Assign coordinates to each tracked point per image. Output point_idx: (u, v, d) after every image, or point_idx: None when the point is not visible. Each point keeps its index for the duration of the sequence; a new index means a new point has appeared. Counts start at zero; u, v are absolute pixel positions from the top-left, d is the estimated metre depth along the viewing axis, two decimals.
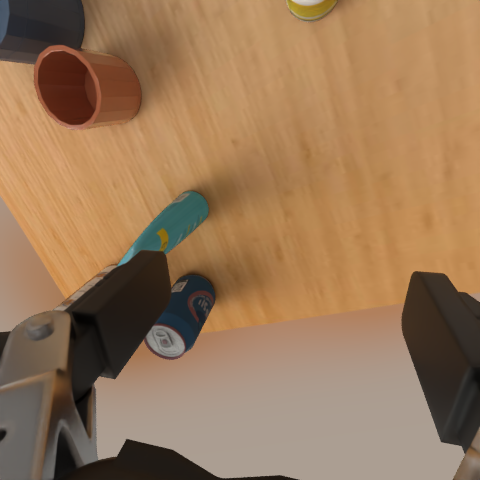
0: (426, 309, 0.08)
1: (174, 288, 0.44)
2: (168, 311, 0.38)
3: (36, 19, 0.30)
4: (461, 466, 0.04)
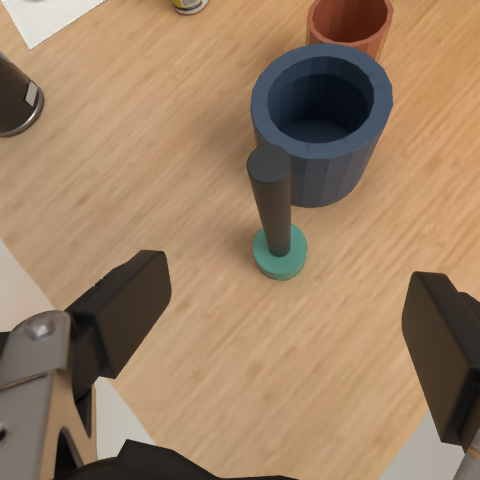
0: (426, 309, 0.08)
1: None
2: None
3: None
4: (461, 466, 0.04)
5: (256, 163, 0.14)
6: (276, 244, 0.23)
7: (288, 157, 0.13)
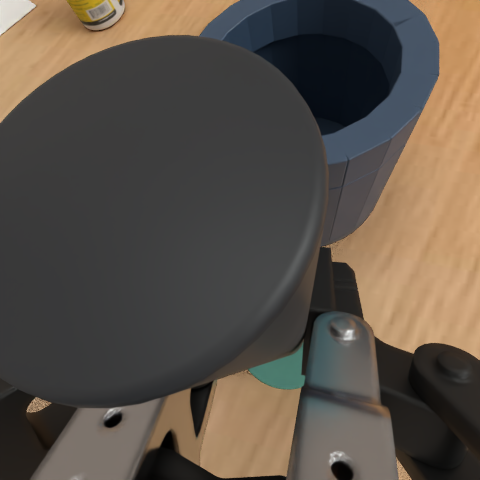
0: None
1: None
2: None
3: None
4: (299, 407, 0.04)
5: (14, 202, 0.02)
6: None
7: (287, 92, 0.01)
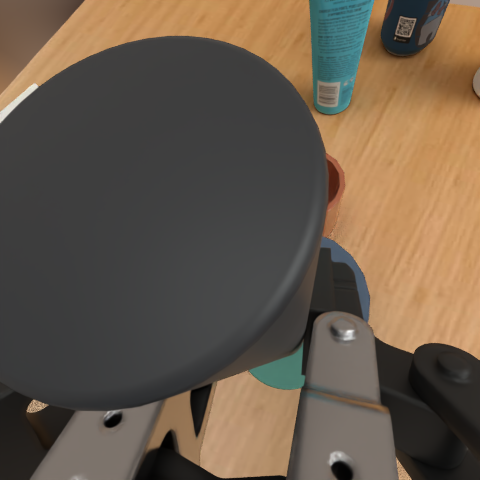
0: None
1: (408, 26, 0.38)
2: None
3: None
4: (299, 407, 0.04)
5: (12, 204, 0.02)
6: None
7: (287, 93, 0.01)
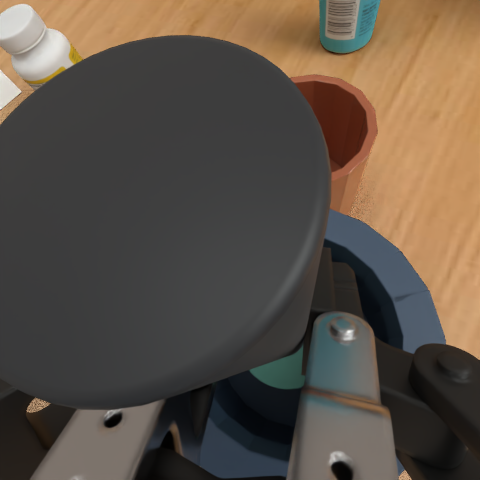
0: None
1: None
2: None
3: None
4: (299, 407, 0.04)
5: (12, 204, 0.02)
6: None
7: (289, 93, 0.01)
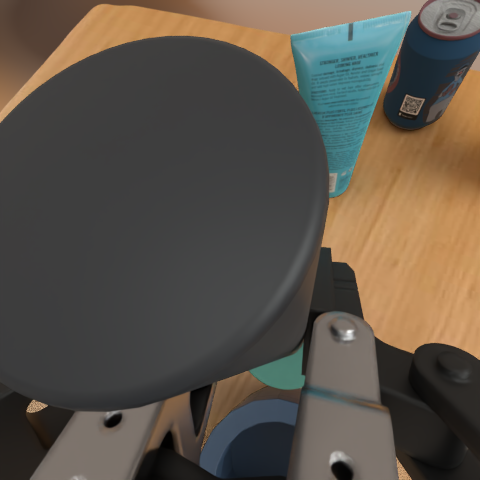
0: None
1: (416, 105, 0.33)
2: (418, 56, 0.29)
3: (257, 395, 0.24)
4: (299, 407, 0.04)
5: (12, 206, 0.02)
6: None
7: (288, 94, 0.01)
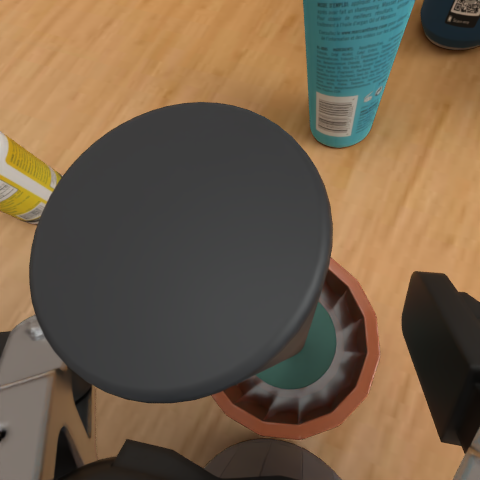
0: (426, 309, 0.08)
1: None
2: None
3: None
4: (461, 466, 0.04)
5: (84, 243, 0.02)
6: None
7: (300, 159, 0.02)
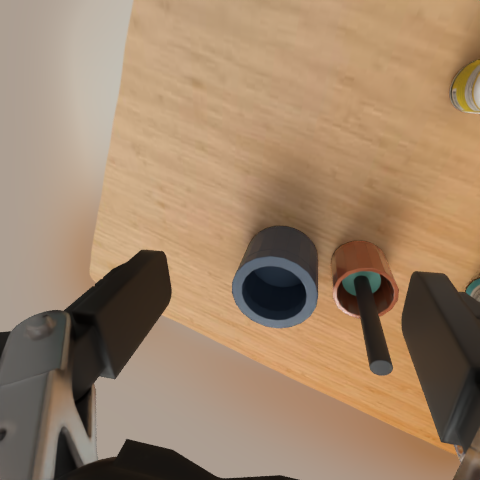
0: (426, 309, 0.08)
1: None
2: None
3: (315, 270, 0.40)
4: (461, 466, 0.04)
5: (380, 363, 0.28)
6: (357, 301, 0.38)
7: (385, 374, 0.29)
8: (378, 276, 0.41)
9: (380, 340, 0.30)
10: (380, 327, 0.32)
